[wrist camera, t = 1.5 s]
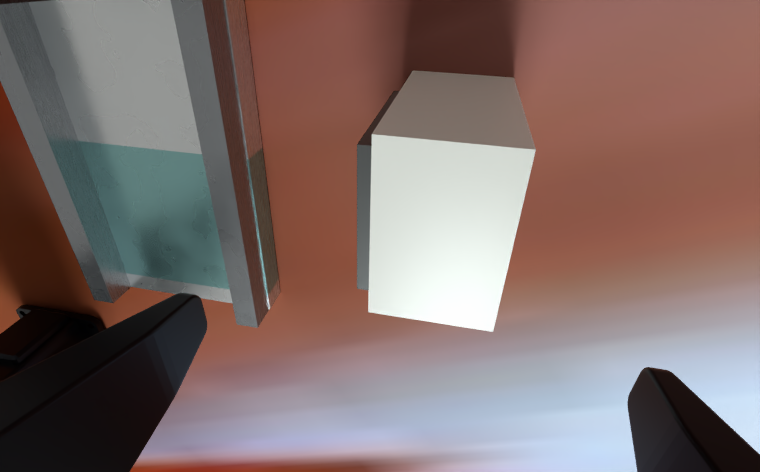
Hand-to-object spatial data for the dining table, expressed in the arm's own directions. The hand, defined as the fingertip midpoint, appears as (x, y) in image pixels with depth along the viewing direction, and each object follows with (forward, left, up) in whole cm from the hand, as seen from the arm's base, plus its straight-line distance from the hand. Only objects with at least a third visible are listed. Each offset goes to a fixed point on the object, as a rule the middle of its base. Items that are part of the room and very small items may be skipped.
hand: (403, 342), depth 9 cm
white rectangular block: (0, 0, -12) cm, 12 cm away
